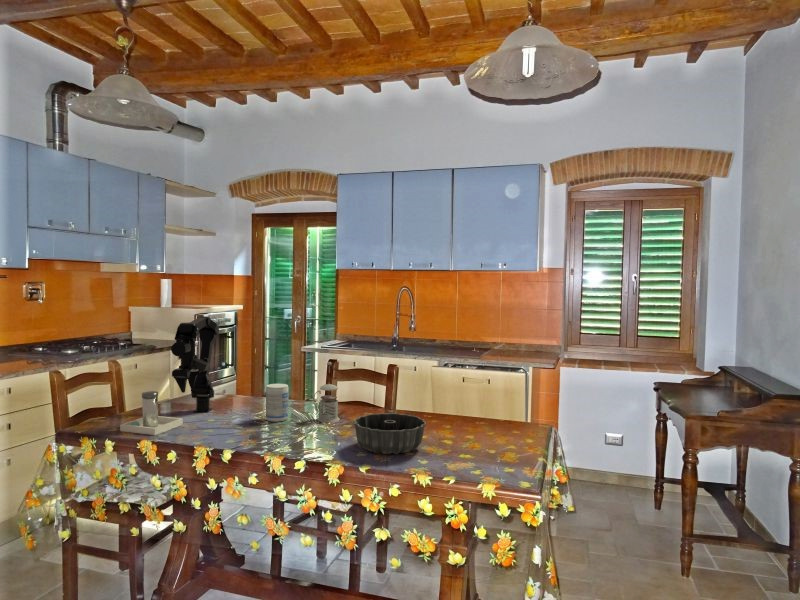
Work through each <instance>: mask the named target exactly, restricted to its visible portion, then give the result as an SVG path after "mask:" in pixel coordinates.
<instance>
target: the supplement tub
mask: <svg viewBox="0 0 800 600" xmlns="http://www.w3.org/2000/svg"><path fill="white" fill-rule="evenodd" d="M288 419H289V385H288V384H286V383H270V384H267V385H266V386H265V420H266V421H268V422H273V423H274V422H276V423H277V422H284V421H287V420H288Z"/></svg>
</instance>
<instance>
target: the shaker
mask: <svg viewBox="0 0 800 600" xmlns="http://www.w3.org/2000/svg"><path fill="white" fill-rule="evenodd" d="M158 396H159V392H158V391H153V390H152V391H151V390H150V391H144V392H142V393H141V401H142V402H141V403H142V417H143V427H152V428H156V427H158V416H159V405H158V404H159V401H158V399H159V398H158Z"/></svg>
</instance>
